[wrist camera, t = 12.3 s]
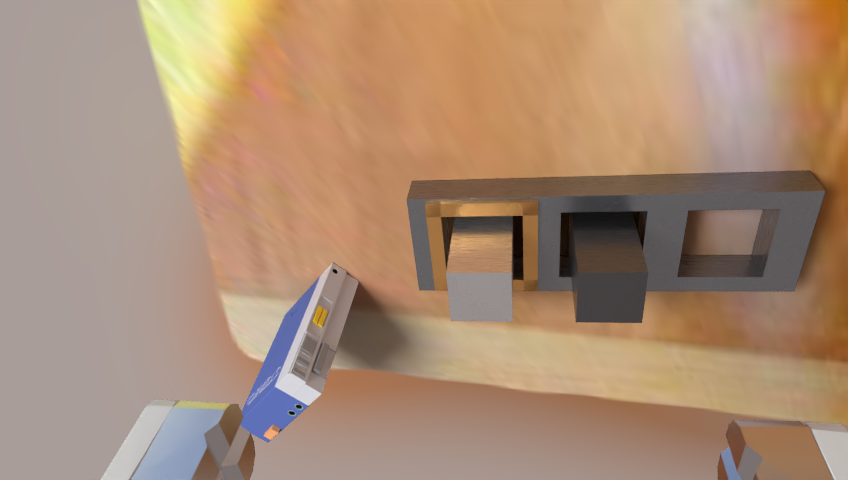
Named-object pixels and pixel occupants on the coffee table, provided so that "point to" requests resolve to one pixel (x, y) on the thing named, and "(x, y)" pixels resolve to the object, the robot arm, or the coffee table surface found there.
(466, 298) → the light grey rectangular block
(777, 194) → the grey block holder tray
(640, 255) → the dark gray block
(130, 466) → the robot arm
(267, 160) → the coffee table surface
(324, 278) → the walkman
